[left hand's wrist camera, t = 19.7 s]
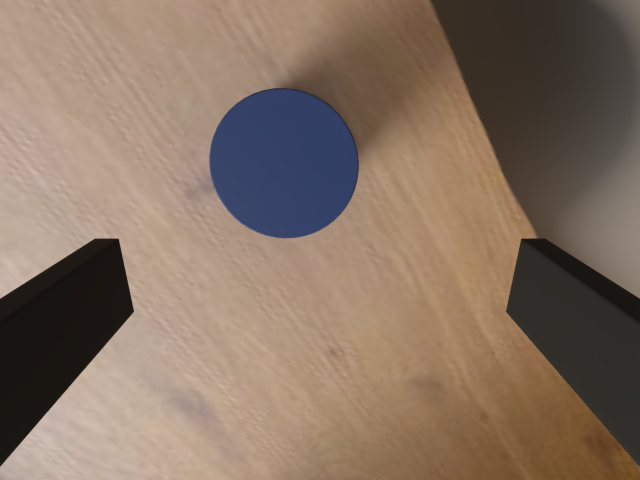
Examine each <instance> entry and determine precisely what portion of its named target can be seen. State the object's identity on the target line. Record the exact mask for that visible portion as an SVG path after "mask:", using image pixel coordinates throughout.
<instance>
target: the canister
mask: <svg viewBox="0 0 640 480" xmlns="http://www.w3.org/2000/svg"><path fill="white" fill-rule="evenodd" d="M358 167H359V161H358V153H357V148H356V144H355V141H354V138H353V136H352V134H351V131H350V130H349V128H348V126H347V124H346V123H345V121H344V120H343V119H342V117H341V116H340V115H339V114H338V113H337V112H336V111H335V110H334V109H333V108H332V107H331V106H330V105H328V104H327V103H326V102H324V101H323V100H321V99H319V98H318V97H316V96H314V95H311V94H309V93H307V92H304V91H300V90H296V89H288V88H274V89H268V90H263V91H260V92H257V93H254V94H252V95H250V96H248V97H246V98H244V99H243V100H241V101H240V102H238V103H237V104H236V105H235V106H234V107H232V108H231V109H230V110H229V111H228V112H227V114H226V115H225V116H224V117H223V119H222V120H221V122H220V124H219V125H218V127H217V129H216V132H215V134H214V136H213V140H212V144H211V149H210V173H211V178H212V182H213V185H214V188H215V190H216V193H217V195H218V197H219V198H220V200H221V202H222V203H223V205H224V206H225V208H226V209H227V210H228V211H229V212H230V213H231V215H232V216H233V217H234V218H236V219H237V220H238V221H239V222H240V223H242V224H243V225H245V226H246V227H248V228H250V229H252V230H254V231H256V232H258V233H261V234H264V235H267V236H271V237H277V238H296V237H302V236H306V235H309V234H312V233H315V232H317V231H319V230H321V229H323V228H324V227H326V226H328V225H329V224H330V223H331V222H333V221H334V220H335V219H336V218H337V217H338V216H339V215H340V214H341V213H342V212H343V210H344V209H345V208H346V206H347V205H348V203H349V201H350V199H351V197H352V195H353V193H354V190H355V187H356V183H357V178H358Z"/></svg>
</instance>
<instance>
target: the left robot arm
mask: <svg viewBox="0 0 640 480" xmlns="http://www.w3.org/2000/svg"><path fill="white" fill-rule="evenodd" d="M133 312H134V309H133V305H132V300H131V295H130V290H129V286H128V281H127V276H126V271H125V267H124V262H123V257H122V252H121V248H120V243H119V239H94V240H92V241H91V242H89V243H87V244H86V245H84V246H83V247H81V248H80V249H78V250H76V251H75V252H73V253H72V254H70V255H69V256H67V257H65V258H64V259H62V260H61V261H59V262H58V263H56V264H54V265H53V266H51V267H50V268H48V269H46V270H45V271H43V272H42V273H40V274H39V275H37V276H35V277H34V278H32V279H31V280H29V281H28V282H26V283H24V284H23V285H21V286H20V287H18V288H16V289H15V290H13V291H12V292H10V293H9V294H7V295H5V296H4V297H2V298H1V299H0V466H1V465H2V464H3V463H4V462H5V460H6V459H7V458H8V457H9V456H10V455H11V453H12V452H13V451H14V450H15V449H16V448H17V447H18V445H19V444H20V443H21V442H22V441H23V440H24V438H25V437H26V436H27V435H28V434H29V433H30V431H31V430H32V429H33V428H34V427H35V426H36V425H37V423H38V422H39V421H40V420H41V419H42V418H43V416H44V415H45V414H46V413H47V412H48V411H49V409H50V408H51V407H52V406H53V405H54V404H55V403H56V401H57V400H58V399H59V398H60V397H61V396H62V394H63V393H64V392H65V391H66V390H67V389H68V387H69V386H70V385H71V384H72V383H73V382H74V381H75V379H76V378H77V377H78V376H79V375H80V374H81V372H82V371H83V370H84V369H85V368H86V367H87V365H88V364H89V363H90V362H91V361H92V360H93V359H94V357H95V356H96V355H97V354H98V353H99V352H100V350H101V349H102V348H103V347H104V346H105V345H106V343H107V342H108V341H109V340H110V339H111V338H112V337H113V335H114V334H115V333H116V332H117V331H118V330H119V328H120V327H121V326H122V325H123V324H124V323H125V321H126V320H127V319H128V318H129V317H130V316H131V314H132V313H133ZM506 312H507V313H508V314H509V316H510V317H511V318H512V319H513V320H514V321H515V323H516V324H517V325H518V326H519V327H520V328H521V330H522V331H523V332H524V333H525V334H526V335H527V337H528V338H529V339H530V340H531V341H532V342H533V343H534V345H535V346H536V347H537V348H538V349H539V350H540V352H541V353H542V354H543V355H544V356H545V357H546V359H547V360H548V361H549V362H550V363H551V364H552V365H553V367H554V368H555V369H556V370H557V371H558V372H559V374H560V375H561V376H562V377H563V378H564V379H565V381H566V382H567V383H568V384H569V385H570V386H571V387H572V389H573V390H574V391H575V392H576V393H577V394H578V396H579V397H580V398H581V399H582V400H583V401H584V403H585V404H586V405H587V406H588V407H589V408H590V409H591V411H592V412H593V413H594V414H595V415H596V416H597V418H598V419H599V420H600V421H601V422H602V423H603V425H604V426H605V427H606V428H607V429H608V430H609V431H610V433H611V434H612V435H613V436H614V437H615V438H616V440H617V441H618V442H619V443H620V444H621V445H622V447H623V448H624V449H625V450H626V451H627V452H628V453H629V455H630V456H631V457H632V458H633V459H634V460H635V462H636V463H637V464H638V465H639V466H640V299H639V298H638V297H636V296H635V295H633V294H631V293H630V292H628V291H627V290H625V289H623V288H622V287H620V286H619V285H617V284H616V283H614V282H612V281H611V280H609V279H608V278H606V277H605V276H603V275H601V274H600V273H598V272H597V271H595V270H593V269H592V268H590V267H589V266H587V265H586V264H584V263H582V262H581V261H579V260H578V259H576V258H575V257H573V256H571V255H570V254H568V253H567V252H565V251H563V250H562V249H560V248H559V247H557V246H556V245H554V244H553V243H551V242H549V241H548V240H546V239H521V243H520V248H519V252H518V257H517V262H516V267H515V271H514V276H513V281H512V286H511V290H510V295H509V300H508V305H507V309H506Z"/></svg>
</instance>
